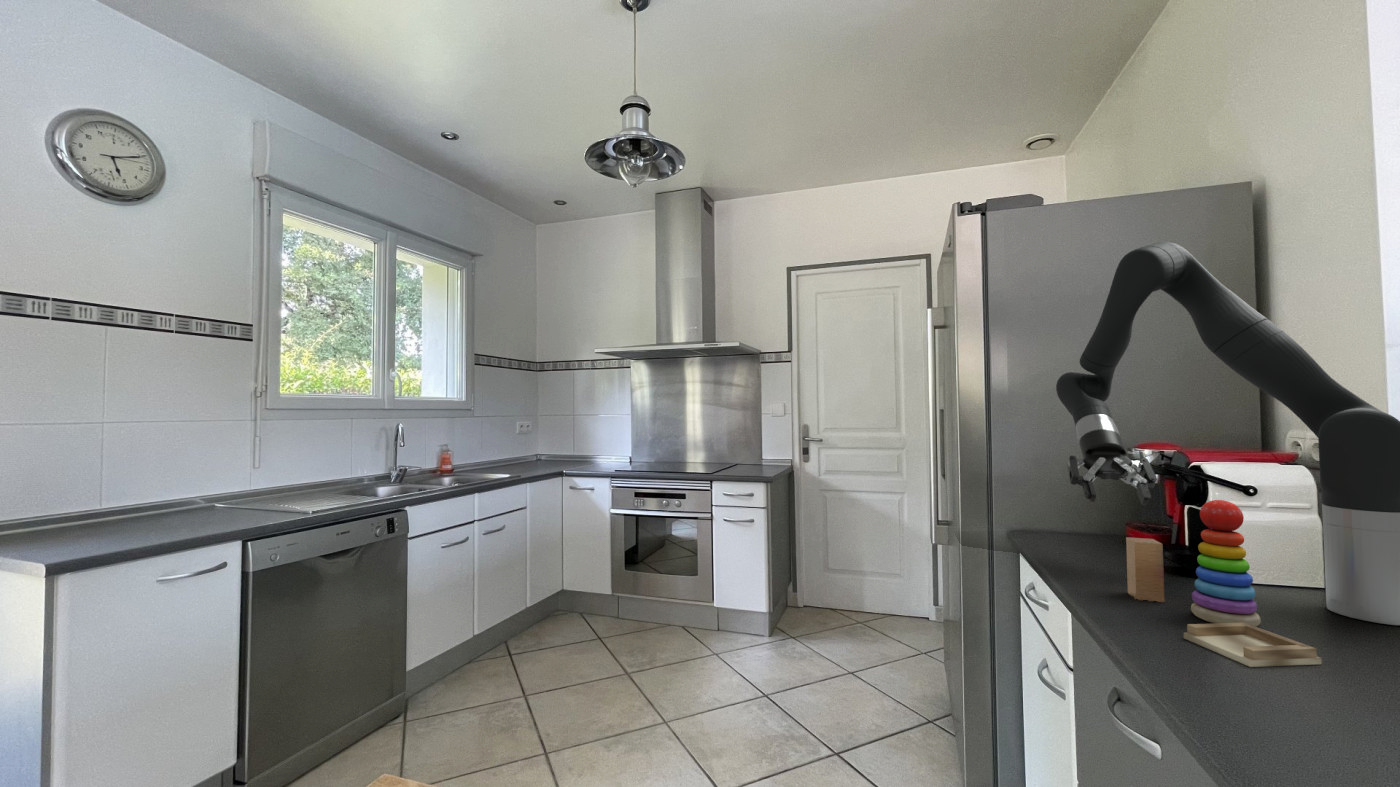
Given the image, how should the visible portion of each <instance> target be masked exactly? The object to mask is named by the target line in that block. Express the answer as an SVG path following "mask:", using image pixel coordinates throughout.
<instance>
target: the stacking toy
mask: <svg viewBox="0 0 1400 787" xmlns="http://www.w3.org/2000/svg"><path fill="white" fill-rule="evenodd" d="M1199 517H1200V520H1201V521H1202V523H1203V524H1204V525H1205V526H1206V527H1207V529H1204V530H1202V531H1201V532H1200V537H1201V539H1202V540H1203V541H1202V542H1200V543H1199V544H1198V545H1197V547H1198V548H1197V549H1198V551H1199V553H1200V554H1199V555H1198V556H1197V559H1196V560H1197V563H1198V565H1199V566H1198V567H1197V568H1196V569H1195V574H1196V576H1197V577H1198V578H1197V579H1195V580H1194V588H1196V590H1194V591H1193V592H1192V593H1191V598H1192V600H1193V603H1191V606H1190V610H1191V612H1192V614H1193V615H1194V616H1196V617H1197V618H1199V619H1201V620H1203V621H1206V622H1208V623H1211V624H1215V623H1247V624H1250V625H1252V626H1255V627H1258V626H1259V625H1261V621H1262V619H1261V616H1260V615H1259V614H1258V613H1257V611H1258V605H1257V603H1256V601H1255V600H1254V598H1255V597H1256V590H1255V589H1254V587H1253V586H1252V584H1253V582H1254V579H1253V576H1252V575H1251V574H1250V573H1249V572H1248V571H1249V570H1250V567H1251V566H1250V563H1249V562H1248V561H1247V560H1246V559H1244V558H1246V556H1247V552H1246V549H1245V548H1244V547H1243V546H1241V545H1242V544H1244V542H1245V537H1244V535H1243V534H1242V533H1240V532H1238V531H1236V530H1238V529H1239V528H1240V527H1242V526H1243V523H1244V513H1243V511H1242V510H1241V509H1240V507H1238V506H1237V505H1236V504H1235V503H1232V502H1231V501H1227V500H1225V499H1215V500H1209V501H1208V502H1206V503H1204V504H1203V505H1202V506H1201V507H1200V510H1199Z"/></svg>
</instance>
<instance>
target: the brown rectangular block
mask: <svg viewBox="0 0 1400 787" xmlns="http://www.w3.org/2000/svg"><path fill="white" fill-rule="evenodd" d="M1125 542H1126V571H1127V572H1126V578H1127V594H1128V595H1129V596H1131V597H1132V596H1133V597H1134V598H1133V597H1132V598H1133V599H1134V600H1136V599H1138V600H1137V601H1143V600H1148V601H1147V602H1153V601H1157V602H1156V603H1163V602H1165V577H1164V576H1165V574H1164V548H1163V543H1161V542H1160V541H1158V540H1156V539H1154V538H1141V537H1140V538H1139V537H1125Z"/></svg>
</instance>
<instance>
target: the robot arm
mask: <svg viewBox="0 0 1400 787" xmlns="http://www.w3.org/2000/svg"><path fill="white" fill-rule="evenodd" d="M1157 291H1163V292H1164V293H1165V294H1167V295H1169V296H1170V297H1172V298H1173V299H1174V300H1175V301H1176V302H1178V303H1179V304H1180V305H1181V306H1182V307H1183V308H1184V309H1185V310H1186V311H1187V312H1188V314H1189V315H1190V317H1191V319H1192V321H1193V323H1194V326H1195V328H1196V330H1197V332H1198V335H1199V337H1200V339H1201V341H1202V343H1203V344H1204V345H1205V346H1206V348H1207V349H1208V350H1209V351H1210V352H1211V353H1212V354H1214V356H1216V357H1217V358H1218V359H1219V360H1220V361H1222V363H1224V364H1225V366H1228V367H1229V368H1230V369H1232V371H1234V372H1235V373H1236V374H1238V375H1239V376H1240V377H1242V378H1243V379H1245V380H1246V381H1247V382H1249V383H1250V384H1252V385H1253V386H1255V387H1257V388H1258V389H1260V390H1261V391H1263V392H1264V393H1266V394H1267V395H1269V396H1271V397H1272V398H1274V399H1276V400H1277V401H1279V402H1280V403H1281V404H1283V405H1284V406H1285V407H1286V408H1287V409H1288V410H1290V412H1292V413H1293V414H1295V416H1296V417H1297V418H1299V419H1300V420H1301V422H1303V423H1304V425H1306V427H1308V429H1309V430H1310V431H1311V432H1312V433H1313V434H1314V435H1315V436H1316V437H1317V440H1318V444H1317V446H1318V460H1319V480H1320V481H1319V483H1320V491H1321V492H1320V493H1321V503H1322V504H1321V510H1322V511H1321V512H1322V513H1321V514H1322V530H1323V553H1324V554H1323V556H1324V558H1323V559H1324V576H1325V577H1324V579H1325V599H1326V601H1325V604H1326V609H1327V610H1329V611H1331V612H1333V613H1335V614H1338V615H1342V616H1345V617H1349V618H1351V619H1357V620H1361V621H1365V622H1371V623H1377V624H1382V625H1383V624H1384V625H1389V626H1390V625H1391V626H1400V420H1399V419H1398V418H1397V417H1394V416H1393V415H1391V414H1388V413H1386V412H1385V411H1382V410H1381V409H1378V408H1377V407H1375V406H1373V405H1372V404H1370V403H1369V402H1367V401H1365V400H1364V399H1362V398H1361V397H1359V396H1358V395H1356V394H1355V393H1353V392H1352V391H1350V389H1347V388H1346V387H1345V386H1343V385H1342V384H1340V383H1339V382H1337V381H1336V380H1335V379H1334V378H1332V377H1331V376H1330V375H1329V374H1328V373H1327V372H1326V371H1325V370H1324V369H1323V368H1322V367H1321V366H1320V365H1319V364H1318V362H1316V360H1315V359H1314V358H1313V357H1312V356H1311V355H1310V354H1309V353H1308V352H1307V351H1306V350H1305V349H1304V348H1303V347H1302V346H1301V345H1300V344H1299V343H1298V342H1296V340H1294V338H1292V337H1291V336H1290V335H1289V334H1288V333H1286V332H1285V331H1284V330H1282V329H1281V328H1280V327H1278V326H1277V325H1276V324H1275V323H1274V322H1272V321H1271V320H1270V319H1268V318H1267V317H1266V316H1264V315H1263V314H1261V313H1260V312H1258V311H1257V310H1256V309H1255V308H1253V307H1252V306H1251V305H1249V304H1248V303H1247V302H1246V301H1244V299H1242V298H1241V297H1240V296H1238V295H1237V294H1236V293H1235V292H1233V291H1232V290H1230V289H1229V288H1228V287H1226V286H1225V285H1224V284H1222V283H1221V282H1220V281H1219V280H1218V279H1217V278H1216V277H1214V275H1212V274H1211V273H1210V271H1209V270H1207V269H1206V268H1205V267H1204V266H1203V265H1202V263H1200V262H1199V261H1198V259H1196V258H1195V257H1194V255H1192V253H1191V252H1189V251H1188V250H1187V249H1186V248H1185V247H1183V246H1182V245H1180V244H1177V243H1174V242H1171V241H1170V242H1169V241H1160V242H1155V243H1152V244H1149V245H1145V246H1141V247H1138V248H1134V249H1133V250H1131V251H1129V252H1128V253H1126V254H1125V255H1124V256H1123V257H1122V258H1121V259H1120V261H1119V263H1118V265H1117V267H1116V270H1115V272H1114V275H1113V279H1112V282H1111V286H1110V287H1109V292H1108V295H1107V297H1106V301H1105V304H1104V307H1103V309H1102V313H1101V315H1100V318H1099V321H1098V323H1097V324H1096V327H1095V329H1094V331H1093V333H1092V335H1091V337H1090V339H1089V340H1088V342H1087V344H1086V346H1085V348H1084V350H1083V352H1082V353H1081V356H1080V358H1079V364H1080V367H1081V368H1082V369H1083V370H1085V371H1086V372H1088V373H1082V372H1075V371H1074V372H1073V371H1072V372H1071V371H1069V372H1065V373H1063V374H1062V375H1061V376H1059V378H1058V379H1057V381H1056V386H1055V389H1056V395H1057V397H1058V399H1059V400H1060V402H1061V403H1062V405H1063V406H1064V407H1065V409H1066V410H1067V411H1068V413H1069V414H1070V415H1071V416H1072V418H1073V421H1074V422H1073V423H1074V426H1075V429H1076V438H1077V443H1078V445H1079V448H1080V451H1081V454H1082V458H1077V457H1076V456H1075V455H1069V457H1068V461H1067V470H1068V471H1067V472H1068V476H1069V477H1068V478H1069V482H1070V484H1071V485H1073V486H1076V485H1079V486H1081V487H1082V490H1083V494H1084V497H1085V499H1086V500H1089V502H1093V503H1094V502H1095V501H1096V498H1097V494H1096V491H1095V487H1094V483H1093V482H1095V480H1096V479H1097V478H1099V479H1100V480H1115V481H1119V480H1121V481H1122V482H1123V483H1125V484H1127V485H1131V486H1132V487H1134V488H1135V489H1136V493H1137V494H1136V495H1137V496H1138V500H1139V502H1140V505H1144V506H1145V505H1148V503H1150V500H1151V498H1152V495H1151V492H1150V489H1154V487H1155V484H1156V483H1157V480H1158V478H1157V476H1156V473H1155V471H1154V469H1153V467H1152V465H1151V463H1150V461H1149V459H1148V458H1146V457H1141V458H1140V460H1131V459H1130V458H1129V457H1128V455H1127V451H1126V448H1125V445H1124V442H1123V440H1122V436H1121V435H1120V434H1121V433H1120V432H1119V429H1118V426H1117V425H1116V424H1115V422H1114V419H1113V415H1112V413H1111V410H1110V408H1109V406H1108V405H1107V403H1106V401H1107V400H1108V399H1109V397H1110V395H1111V390H1112V383H1113V378H1114V375H1115V370H1116V368H1117V366H1118V364H1119V363H1120V361H1121V360H1122V357H1123V356H1124V354H1125V353H1126V351H1127V349H1128V347H1129V345H1130V342H1131V338H1132V332H1133V324H1134V320H1135V318H1136V317H1135V316H1136V314H1137V313H1138V311H1139V310H1140V307H1142V306H1143V304H1144V302H1145V301H1146V300H1147V298H1149V297H1150V296H1151V294H1152V293H1154V292H1157ZM1090 373H1091V374H1090ZM1081 466H1082V467H1083V468H1085V469H1086V470H1087V472H1086V474H1084V475H1083V476H1082V475H1080V472H1079V469H1080V468H1081ZM1139 473H1140V474H1139Z"/></svg>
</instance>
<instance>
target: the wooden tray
mask: <svg viewBox="0 0 1400 787" xmlns="http://www.w3.org/2000/svg"><path fill="white" fill-rule="evenodd" d="M1186 625H1187V626H1186V628H1187V631H1186V632H1183V639H1184V640H1187V641H1189V642H1191V643H1193V644H1196V645H1198V646H1201V647H1203V648H1205V649H1207V650H1210V651H1213V652H1215V653H1217V654H1219V655H1222V656H1223V657H1226V658H1229V659H1231V660H1233V661H1235V662H1237V663H1240V664H1242V665H1245V666H1248V667H1250V668H1253V667H1255V668H1256V667H1257V668H1259V667H1281V666H1283V667H1284V666H1287V667H1288V666H1308V665H1314V666H1315V665H1322V657H1320V656H1318V652H1317V650H1318V649H1317V648H1316V647H1313V646H1310V645H1308V644H1305V643H1302V642H1299V641H1296V640H1294V639H1291V638H1288V637H1286V636H1282V635H1280V634H1277V633H1275V632H1271V631H1269V630H1266V629H1263V628H1260V627H1258V626H1256V627H1255V626H1252V625H1250V624H1247V623H1196V624H1195V623H1188V624H1186Z"/></svg>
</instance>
